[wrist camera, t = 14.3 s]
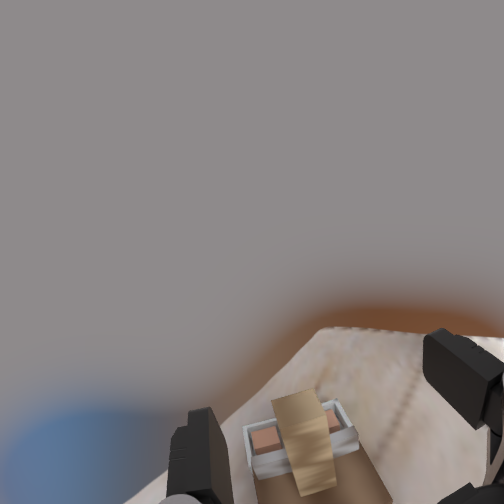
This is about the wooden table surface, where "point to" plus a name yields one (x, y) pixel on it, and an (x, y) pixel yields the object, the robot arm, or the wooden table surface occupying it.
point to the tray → (261, 425)
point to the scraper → (305, 444)
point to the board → (335, 498)
